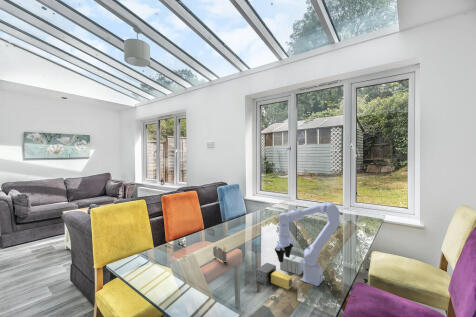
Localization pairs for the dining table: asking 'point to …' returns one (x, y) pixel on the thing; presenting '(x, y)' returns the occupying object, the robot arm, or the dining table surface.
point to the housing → (265, 273)
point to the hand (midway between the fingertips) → (284, 259)
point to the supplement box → (292, 264)
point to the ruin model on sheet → (219, 253)
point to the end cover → (281, 279)
